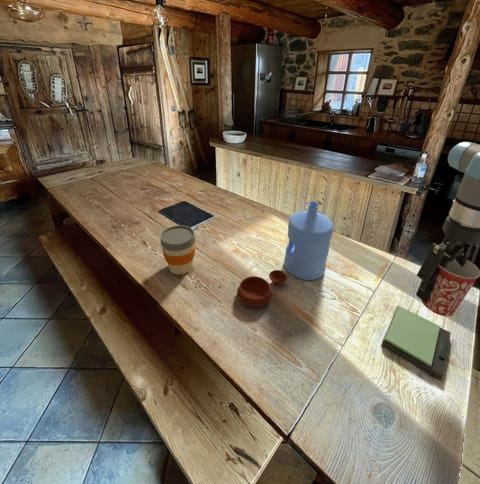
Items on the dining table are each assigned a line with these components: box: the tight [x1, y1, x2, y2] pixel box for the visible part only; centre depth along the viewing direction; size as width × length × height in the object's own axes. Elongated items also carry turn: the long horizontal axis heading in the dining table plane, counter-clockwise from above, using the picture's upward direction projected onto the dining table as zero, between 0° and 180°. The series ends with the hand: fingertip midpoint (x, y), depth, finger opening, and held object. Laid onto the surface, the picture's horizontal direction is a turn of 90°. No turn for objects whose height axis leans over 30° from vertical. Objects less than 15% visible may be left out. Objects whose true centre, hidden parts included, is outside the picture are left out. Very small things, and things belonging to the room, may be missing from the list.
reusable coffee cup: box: [160, 224, 196, 275], centre depth 100 cm, size 13×13×15 cm
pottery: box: [236, 269, 288, 308], centre depth 91 cm, size 12×20×4 cm, turn 127°
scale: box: [380, 305, 451, 381], centre depth 76 cm, size 14×16×3 cm
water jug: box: [283, 201, 334, 281], centre depth 98 cm, size 16×16×28 cm
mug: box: [421, 254, 480, 317], centre depth 68 cm, size 13×9×14 cm
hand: (434, 294), depth 70 cm, fingers closed on mug, 8 cm apart
